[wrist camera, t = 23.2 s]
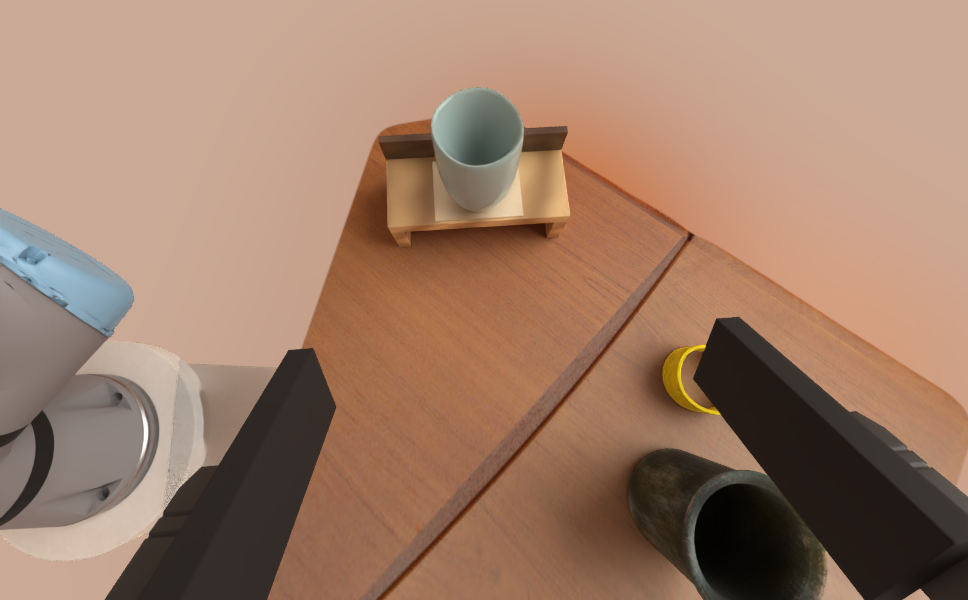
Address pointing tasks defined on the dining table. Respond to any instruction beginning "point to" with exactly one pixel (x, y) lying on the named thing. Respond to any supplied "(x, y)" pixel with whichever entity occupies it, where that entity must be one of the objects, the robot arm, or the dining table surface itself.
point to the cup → (477, 146)
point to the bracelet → (674, 383)
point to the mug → (726, 529)
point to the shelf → (429, 207)
